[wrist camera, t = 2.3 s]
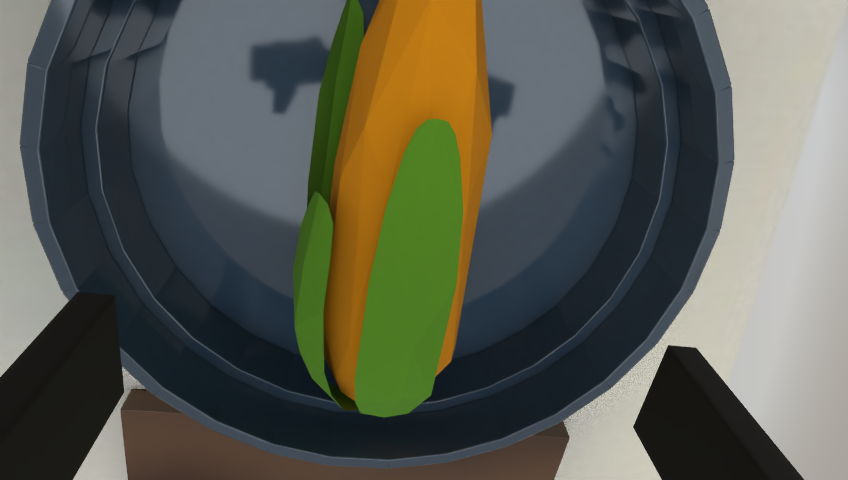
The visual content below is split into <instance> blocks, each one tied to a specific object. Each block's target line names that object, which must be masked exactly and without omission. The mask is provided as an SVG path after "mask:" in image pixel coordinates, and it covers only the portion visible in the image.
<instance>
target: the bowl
mask: <svg viewBox="0 0 848 480" xmlns="http://www.w3.org/2000/svg"><path fill="white" fill-rule="evenodd" d="M358 1H359V4H360V6H361V9H362V11H363V20H364V36H365V34H366V32H367V29H368V27H369V24H370V22H371V20H372V17H373V15H374V13H375V10H376V8H377V5H378V3H379V1H380V0H358ZM346 2H347V0H51V2H50V5H49V7H48V10H47V13H46V15H45V18H44V20H43V23H42V25H41V28H40V31H39V33H38V36H37V38H36V41H35V44H34V46H33V49H32V51H31V54H30V57H29V59H28V63H27V72H26V82H25V93H24V104H23V114H22V125H21V135H20V145H21V146H20V150H21V156H22V162H23V168H24V174H25V180H26V186H27V192H28V198H29V204H30V210H31V216H32V221H33V222H34V223H33V225H34V228H35V230H36V232H37V235H38V237H39V239H40V242H41V244H42V246H43V249H44V251H45V253H46V256H47V258H48V260H49V263H50V265H51V267H52V270H53V272H54V274H55V277H56V279H57V281H58V284H59V286H60V288H61V290H62V291H63V294H64V295H65V296H66V298H67V299H68V300H69V301H70V300H71V299H72V298H73V296H74V295H75V294H76V293H77V292H85V293H96V294H107V295H115V301H116V312H117V322H118V333H119V343H120V354H121V364H122V367H123V368H124V369H126V370H127V371H128V372H129V373H130V374H131V375H132V376H133V377H134V378H135V379H136V380H138V381H139V382H140V383H141V384H142V385H143V386H144V387H145V388H146V389H147V390H148V391H150V392H151V393H152V394H154V395H155V396H156V397H158V398H160V399H161V400H163V401H164V402H166V403H168V404H169V405H171V406H172V407H174V408H176V409H177V410H179V411H181V412H182V413H184V414H185V415H187V416H189V417H190V418H192V419H193V420H195V421H197V422H198V423H200V424H202V425H203V426H205V427H206V428H210V430H213V431H215V432H218V433H220V434H223V435H225V436H228V437H230V438H233V439H235V440H238V441H240V442H243V443H245V444H248V445H250V446H253V447H255V448H258V449H260V450H263V451H265V452H268V453H271V454H276V455H280V456H285V457H289V458H294V459H299V460H303V461H308V462H313V463H317V464H322V465H326V466H328V465H329V466H345V467H364V468H383V469H388V468H390V469H391V468H401V467H410V466H420V465H429V464H439V463H447V462H452V461H456V460H459V459H463V458H467V457H470V456H474V455H478V454H482V453H485V452H489V451H493V450H496V449H500V448H504V447H505V446H506V447H507V446H509V445H512V444H514V443H516V442H518V441H521V440H523V439H525V438H527V437H529V436H532V435H534V434H536V433H538V432H540V431H543V430H545V429H547V428H549V427H551V426H554V425H556V424H558V423H560V421H563V420H565V419H566V418H568V417H569V416H571V415H572V414H574V413H575V412H577V411H578V410H580V409H581V408H583V407H584V406H585V405H587V404H588V403H590V402H591V401H593V400H594V399H596V398H597V397H599V396H600V395H602V394H603V393H605V392H606V391H608V390H609V389H610V388H611V387H613V386H614V385H615V384H616V383H617V382H618V381H619V380H620V379H621V378H622V377H623V376H624V375H625V374H626V373H628V372H629V371H630V370H631V369H632V368H633V367H634V366H635V365H636V364H637V363H638V362H639V361H640V360H641V359H642V358H643V357H644V356H645V355H646V354H647V353H648V352H649V351H650V350H651V349H652V348H653V347H654V346H655V345H656V344H657V343H658V342H659V340H660V339H661V338H662V336H663V335H664V333H665V332H666V330H667V329H668V328H669V326H670V325H671V323H672V322H673V321H674V319H675V318H676V316H677V315H678V313H679V312H680V311H681V309H682V308H683V306H684V305H685V303H686V302H687V301H688V299H689V298H690V296H691V295H692V294H693V291H694V290H695V288H696V285H697V283H698V281H699V278H700V276H701V274H702V272H703V269H704V267H705V265H706V262H707V260H708V258H709V256H710V253H711V251H712V249H713V246H714V244H715V242H716V240H717V237H718V235H719V233H720V229H721V226H722V221H723V216H724V211H725V206H726V201H727V196H728V191H729V186H730V181H731V176H732V170H733V165H734V161H733V160H734V136H733V109H732V87H731V82H730V78H729V75H728V71H727V68H726V65H725V61H724V58H723V54H722V51H721V47H720V44H719V40H718V37H717V34H716V30H715V27H714V23H713V20H712V16H711V13H710V10H709V9H708V5H707V4H706V2H705V0H482V7H483V21H484V34H485V47H486V61H487V74H488V88H489V101H490V114H491V128H492V137H491V143H490V149H489V155H488V161H487V166H486V172H485V178H484V184H483V189H482V195H481V201H480V207H479V213H478V218H477V224H476V230H475V236H474V241H473V247H472V253H471V259H470V264H469V270H468V276H467V282H466V288H465V293H464V299H463V305H462V311H461V316H460V322H459V328H458V334H457V340H456V345H455V350H454V353H453V356H452V360H451V362H450V363H449V364H448V365H447V366H446V367H445V368H444V369H443V370H442V371H441V372H440V373H439V374H438V375H437V376H436V377H435V381H434V385H433V390H432V394H431V396H430V397H428V398H427V399H426V400H425V401H423V402H422V403H421V404H420V405H418V406H417V407H416V408H414V409H413V410H412V411H411V412H409V413H408V414H402V415H396V416H390V417H379V416H374V415H368V414H362V413H360V411H344V410H343V409H342V408H341V407H340V406H339V405H338V404H337V403H336V402H335V401H334V400H333V399H332V398H331V397H330V396H329V395H328V394H327V393H326V392H325V391H324V390H323V389H322V388H321V387H320V386H319V385H318V384H317V383H316V382H315V381H314V380H313V379H312V378H311V375H310V373H309V371H308V369H307V367H306V365H305V362H304V360H303V358H302V356H301V354H300V350H299V346H298V341H297V337H296V333H295V324H294V290H293V267H294V262H295V256H296V250H297V244H298V238H299V233H300V227H301V223H302V220H303V218H304V215H305V213H306V210H307V198H308V179H309V170H310V162H311V154H312V146H313V138H314V129H315V121H316V113H317V105H318V97H319V91H320V87H321V84H322V80H323V76H324V72H325V69H326V65H327V61H328V57H329V53H330V50H331V46H332V42H333V39H334V36H335V33H336V30H337V27H338V24H339V21H340V18H341V15H342V12H343V9H344V7H345V4H346ZM324 373H325V377H326V380H327V381H328V382H329V383H331V384H332V385H334V386H335V387H337V388H338V389H339V387H338V385H337V383H336V381H335V379H334V377H333V375H332V373H331V370H330V368H329V366H328V364H327V362H326V360H325V359H324Z"/></svg>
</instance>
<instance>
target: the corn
mask: <svg viewBox="0 0 848 480" xmlns="http://www.w3.org/2000/svg"><path fill="white" fill-rule="evenodd" d="M491 137H492V128H491V114H490V101H489V88H488V74H487V61H486V47H485V34H484V21H483V7H482V0H380V1H379V3H378V5H377V8H376V10H375V13H374V15H373V17H372V20H371V22H370V24H369V27H368V29H367V32H366V34H365V36H364V20H363V11H362V9H361V6H360V4H359V1H358V0H347V2H346V4H345V7H344V9H343V12H342V15H341V18H340V21H339V24H338V27H337V30H336V33H335V36H334V39H333V42H332V46H331V50H330V53H329V57H328V61H327V65H326V69H325V72H324V76H323V80H322V84H321V87H320V91H319V97H318V105H317V113H316V121H315V129H314V138H313V146H312V154H311V162H310V170H309V179H308V198H307V210H306V213H305V215H304V218H303V220H302V223H301V227H300V233H299V238H298V244H297V250H296V256H295V262H294V267H293V290H294V324H295V333H296V337H297V341H298V346H299V350H300V354H301V356H302V358H303V360H304V362H305V365H306V367H307V369H308V371H309V373H310V375H311V378H312V379H313V380H314V381H315V382H316V383H317V384H318V385H319V386H320V387H321V388H322V389H323V390H324V391H325V392H326V393H327V394H328V395H329V396H330V397H331V398H332V399H333V400H334V401H335V402H336V403H337V404H338V405H339V406H340V407H341V408H342V409H343V410H344V411H360V413H362V414H368V415H374V416H379V417H390V416H396V415H402V414H408V413H409V412H411V411H412V410H413V409H414V408H416V407H417V406H418V405H420V404H421V403H422V402H423V401H425V400H426V399H427V398H428V397H430V396H431V394H432V390H433V385H434V381H435V377H436V376H437V375H438V374H439V373H440V372H441V371H442V370H443V369H444V368H445V367H446V366H447V365H448V364H449V363H450V362H451V360H452V356H453V353H454V350H455V345H456V340H457V334H458V328H459V322H460V316H461V311H462V305H463V299H464V293H465V288H466V282H467V276H468V270H469V264H470V259H471V253H472V247H473V241H474V236H475V230H476V224H477V218H478V213H479V207H480V201H481V195H482V189H483V184H484V178H485V172H486V166H487V161H488V155H489V149H490V143H491ZM324 359H325V360H326V362H327V364H328V366H329V368H330V370H331V373H332V375H333V377H334V379H335V381H336V383H337V385H338V387H339V389H338V388H337V387H335V386H334V385H332V384H331V383H329V382H328V381H327V380H326V377H325V373H324Z"/></svg>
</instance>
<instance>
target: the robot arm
mask: <svg viewBox="0 0 848 480" xmlns="http://www.w3.org/2000/svg"><path fill="white" fill-rule="evenodd" d="M123 393H124V385H123V375H122V364H121V354H120V343H119V333H118V322H117V312H116V301H115V295H107V294H96V293H85V292H77V293H76V294H75V295H74V296H73V298H72V299H71V300H70V301H69V302H68V303H67V304H66V305H65V306H64V307H63V309H62V310H61V311H60V312H59V313H58V314H57V315H56V316H55V317H54V319H53V320H52V321H51V322H50V323H49V324H48V325H47V326H46V327H45V329H44V330H43V331H42V332H41V333H40V334H39V335H38V336H37V337H36V338H35V340H34V341H33V342H32V343H31V344H30V345H29V346H28V347H27V348H26V350H25V351H24V352H23V353H22V354H21V355H20V356H19V357H18V358H17V359H16V361H15V362H14V363H13V364H12V365H11V366H10V367H9V368H8V369H7V371H6V372H5V373H4V374H3V375H2V376H1V377H0V480H73V478H74V476H75V475H76V473H77V471H78V470H79V468H80V466H81V465H82V463H83V461H84V459H85V458H86V456H87V454H88V453H89V451H90V449H91V447H92V446H93V444H94V442H95V441H96V439H97V437H98V436H99V434H100V432H101V430H102V429H103V427H104V425H105V424H106V422H107V420H108V419H109V417H110V415H111V413H112V412H113V410H114V408H115V407H116V405H117V403H118V402H119V400H120V398H121V396H122V395H123ZM633 428H634V429H635V431H636V433H637V435H638V437H639V439H640V440H641V442H642V444H643V446H644V448H645V450H646V451H647V453H648V455H649V457H650V459H651V461H652V462H653V464H654V466H655V468H656V470H657V472H658V473H659V475H660V477H661V479H662V480H804V479H803V478H802V477H801V475H800V474H799V473H798V472H797V470H796V469H795V468H794V467H793V466H792V464H791V463H790V462H789V461H788V460H787V458H786V457H785V456H784V455H783V453H782V452H781V451H780V450H779V449H778V447H777V446H776V445H775V444H774V443H773V441H772V440H771V439H770V438H769V436H768V435H767V434H766V433H765V431H764V430H763V429H762V428H761V427H760V425H759V424H758V423H757V422H756V420H755V419H754V418H753V417H752V415H750V413H749V412H748V411H747V409H746V408H745V407H744V406H743V404H742V403H741V402H740V401H739V400H738V398H737V397H736V396H735V395H734V394H733V392H732V391H731V390H730V389H729V387H728V386H727V385H726V384H725V382H724V381H723V380H722V379H721V378H720V376H719V375H718V374H717V373H716V371H715V370H714V369H713V368H712V367H711V365H710V364H709V363H708V362H707V360H706V359H705V358H704V357H703V356H702V354H701V353H700V352H699V351H698V349H697V348H692V347H681V346H670V345H668V347H667V349H666V352H665V354H664V356H663V359H662V361H661V363H660V366H659V368H658V370H657V373H656V375H655V377H654V380H653V382H652V384H651V387H650V389H649V391H648V394H647V396H646V398H645V401H644V403H643V405H642V408H641V410H640V412H639V415H638V417H637V419H636V422H635V424H634V426H633Z"/></svg>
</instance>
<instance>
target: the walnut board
mask: <svg viewBox="0 0 848 480" xmlns="http://www.w3.org/2000/svg"><path fill="white" fill-rule="evenodd" d="M121 419H122V428H123V437H124V447H125V456H126V465H127V475H128V480H554V478H555V476H556V473H557V470H558V468H559V465H560V462H561V460H562V457H563V454H564V451H565V449H566V446H567V443H568V441H569V435H568V432H567V430H566V427H565V425H564V422H563V421H560V423H558V424H556V425H554V426H551V427H549V428H547V429H545V430H543V431H540V432H538V433H536V434H534V435H532V436H529V437H527V438H525V439H523V440H521V441H518V442H516V443H514V444H512V445H509V446H507V447H506V446H505V447H504V448H500V449H496V450H493V451H489V452H485V453H482V454H478V455H474V456H470V457H467V458H463V459H459V460H456V461H452V462H447V463H439V464H429V465H420V466H410V467H401V468H391V469H390V468H388V469H383V468H364V467H345V466H329V465H328V466H326V465H322V464H317V463H313V462H308V461H303V460H299V459H294V458H289V457H285V456H280V455H276V454H271V453H268V452H265V451H263V450H260V449H258V448H255V447H253V446H250V445H248V444H245V443H243V442H240V441H238V440H235V439H233V438H230V437H228V436H225V435H223V434H220V433H218V432H215V431H213V430H210V428H206V427H205V426H203V425H202V424H200V423H198V422H197V421H195V420H193V419H192V418H190V417H189V416H187V415H185V414H184V413H182V412H181V411H179V410H177V409H176V408H174V407H172V406H171V405H169V404H168V403H166V402H164V401H163V400H161V399H160V398H158V397H156V396H155V395H154V394H152V393H151V392H150V391H148V390H134V389H132V390H131V392H130V394H129V395H128V397H127V399H126V401H125V402H124V404H123V406H122V408H121Z"/></svg>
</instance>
